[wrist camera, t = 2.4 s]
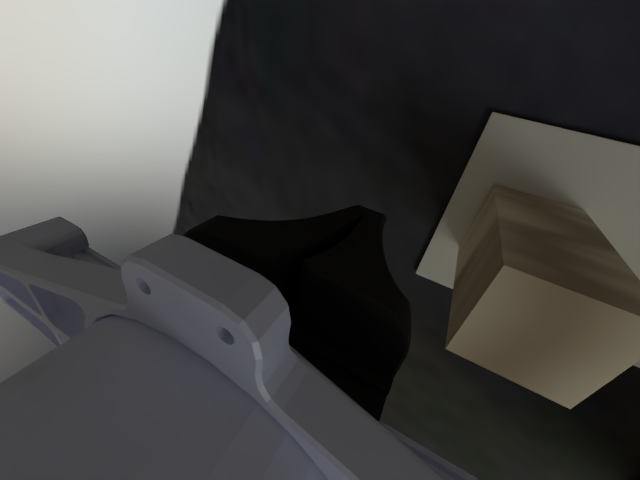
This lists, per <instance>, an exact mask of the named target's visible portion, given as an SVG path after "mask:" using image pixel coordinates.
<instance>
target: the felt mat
mask: <svg viewBox="0 0 640 480" xmlns="http://www.w3.org/2000/svg"><path fill="white" fill-rule="evenodd" d="M494 183H495V184H498V185H502V186H505V187H508V188H512V189H515V190H518V191H522V192H525V193H528V194H532V195H535V196H538V197H541V198H545V199H548V200H551V201H555V202H558V203H561V204H565V205H568V206H571V207H575V208H578V209H581V210H584V211H586V213H587V214H588V215H589V216H590V218H591V219H592V220H593V221H594V223H595V224H596V225H597V227H598V228H599V229H600V230H601V232H602V233H603V234H604V235H605V237H606V238H607V239H608V241H609V242H610V243H611V244H612V246H613V247H614V248H615V249H616V251H617V252H618V253H619V255H620V256H621V257H622V258H623V260H624V261H625V262H626V263H627V265H628V266H629V267H630V269H631V270H632V271H633V272H634V274H635V275H636V276H637V277H638V279H639V280H640V146H637V145H633V144H629V143H625V142H620V141H616V140H612V139H607V138H603V137H599V136H595V135H590V134H586V133H582V132H577V131H573V130H569V129H565V128H560V127H556V126H552V125H548V124H543V123H539V122H535V121H530V120H526V119H522V118H518V117H513V116H509V115H505V114H500V113H496V112H492V114H491V116H490V118H489V120H488V122H487V124H486V126H485V128H484V130H483V133H482V135H481V137H480V139H479V141H478V143H477V145H476V147H475V149H474V151H473V153H472V156H471V158H470V160H469V162H468V164H467V166H466V168H465V170H464V172H463V174H462V176H461V179H460V181H459V183H458V185H457V187H456V189H455V191H454V193H453V195H452V197H451V200H450V202H449V204H448V206H447V208H446V210H445V212H444V214H443V216H442V218H441V220H440V223H439V225H438V227H437V229H436V231H435V233H434V235H433V237H432V239H431V241H430V243H429V246H428V248H427V250H426V252H425V254H424V256H423V258H422V260H421V262H420V264H419V266H418V269H417V271H416V274H418V275H420V276H423V277H425V278H427V279H430V280H432V281H435V282H437V283H439V284H442V285H444V286H446V287H449V288H451V289H453V286H454V279H455V271H456V263H457V256H458V248H459V245H460V243H461V241H462V240H463V238H464V236H465V234H466V232H467V231H468V229H469V227H470V225H471V223H472V221H473V220H474V218H475V216H476V214H477V212H478V211H479V209H480V207H481V205H482V203H483V202H484V200H485V198H486V196H487V194H488V193H489V191H490V189H491V187H492V185H493V184H494ZM634 366H636V367H639V368H640V360H639V361H638V362H636V363H635V364H634Z"/></svg>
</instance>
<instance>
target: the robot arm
mask: <svg viewBox="0 0 640 480" xmlns="http://www.w3.org/2000/svg"><path fill="white" fill-rule="evenodd" d="M385 221H386V216H385V215H384V214H381V213H379V212H376V211H373V210H370V209H368V208H365V207H362V206H360V205H356V206H352V207H349V208H345V209H342V210H339V211H336V212H332V213H328V214H324V215H320V216H316V217H311V218H305V219H297V220H281V221H261V220H247V219H239V218H232V217H225V216H219V215H217V216H215V217H213V218H211V219H209V220H207V221H206V222H204V223H202V224H200V225H198V226H196V227H194V228H192V229H190V230H188V231H187V232H186V234H185V235H184V236H179V235H175V234H170V235H168V236H166V237H164V238H162V239H160V240H158V241H156V242H154V243H152V244H150V245H148V246H146V247H144V248H142V249H140V250H139V251H136V252H134V253H132V254H130V255H129V256H127V257H126V258H125V259H124V260H123V261H122V263H121V266H119V265H117V264H116V263H114V262H112V261H111V260H109V259H107V258H106V257H104V256H102V255H100V254H99V253H97V252H95V251H94V250H92V249H90V248H89V244H88V240H87V238H86V236H85V234H84V232H83V231H82V230H81V229H80V228H79V227H78V226H76V225H74V224H72V223H71V222H69V221H67V220H65V219H64V218H62V217H56V218H54V219H50V220H47V221H45V222H41V223H38V224H35V225H32V226H29V227H26V228H23V229H20V230H17V231H14V232H11V233H8V234H5V235H2V236H0V296H1V297H2V299H3V300H4V302H5V303H6V304H7V305H8V306H10V307H11V308H12V309H13V310H14V311H16V312H17V313H18V314H19V315H20V316H22V317H23V318H24V319H25V320H26V321H27V322H29V323H30V324H31V325H32V326H33V327H34V328H35V329H37V330H38V331H39V332H40V333H41V334H42V335H43V336H44V337H45V338H47V339H48V340H49V341H50V342H51V343H52V344H53V345H54V346H55V347H56V348H55V349H53V350H52V351H50V352H49V353H47V354H45V355H44V356H42V357H41V358H39V359H38V360H36V361H34V362H33V363H31V364H30V365H28V366H26V367H25V368H23V369H22V370H20V371H18V372H17V373H15V374H14V375H12V376H11V377H9V378H8V379H6V380H4V381H3V382H1V383H0V480H479V479H477V478H475V477H474V476H472V475H470V474H468V473H467V472H465V471H463V470H462V469H460V468H458V467H457V466H455V465H453V464H452V463H450V462H448V461H447V460H445V459H443V458H442V457H440V456H438V455H437V454H435V453H433V452H432V451H430V450H428V449H426V448H425V447H423V446H421V445H420V444H418V443H416V442H415V441H413V440H411V439H410V438H408V437H406V436H405V435H403V434H401V433H400V432H398V431H396V430H395V429H393V428H391V427H390V426H388V425H386V424H384V423H383V422H381V421H379V420H380V417H381V413H382V410H383V407H384V403H385V400H386V396H387V395H388V393H389V391H390V389H391V385H392V382H393V378H394V376H395V375H396V373H397V371H398V370H399V368H400V366H401V364H402V363H403V361H404V359H405V358H406V355H407V353H408V350H409V346H410V339H411V309H410V303H409V301H408V300H407V299H406V297H405V296H404V295H403V293H402V292H401V291H400V290H399V288H398V287H397V285H396V284H395V282H394V280H393V278H392V276H391V274H390V271H389V269H388V266H387V263H386V260H385V256H384V250H383V242H382V230H383V227H384V224H385Z"/></svg>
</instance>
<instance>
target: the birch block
mask: <svg viewBox="0 0 640 480" xmlns="http://www.w3.org/2000/svg"><path fill="white" fill-rule="evenodd" d="M445 349H447V350H449V351H451V352H453V353H455V354H457V355H459V356H461V357H463V358H465V359H467V360H470V361H472V362H474V363H476V364H478V365H480V366H482V367H484V368H486V369H488V370H490V371H492V372H494V373H496V374H498V375H500V376H503V377H505V378H507V379H509V380H511V381H513V382H515V383H517V384H519V385H521V386H523V387H525V388H527V389H529V390H531V391H534V392H536V393H538V394H540V395H542V396H544V397H546V398H548V399H550V400H552V401H554V402H556V403H558V404H560V405H562V406H564V407H567V408H569V409H571V408H573V407H574V406H576V405H577V404H579V403H580V402H581V401H583V400H584V399H586V398H587V397H588V396H590V395H591V394H593V393H594V392H595V391H597V390H598V389H600V388H601V387H603V386H604V385H605V384H607V383H608V382H610V381H611V380H612V379H614V378H615V377H617V376H618V375H619V374H621V373H622V372H624V371H625V370H627V369H628V368H629V367H631V366H632V365H634V364H635V363H636V362H638V361H639V360H640V280H639V279H638V277H637V276H636V275H635V274H634V272H633V271H632V270H631V269H630V267H629V266H628V265H627V263H626V262H625V261H624V260H623V258H622V257H621V256H620V255H619V253H618V252H617V251H616V249H615V248H614V247H613V246H612V244H611V243H610V242H609V241H608V239H607V238H606V237H605V235H604V234H603V233H602V232H601V230H600V229H599V228H598V227H597V225H596V224H595V223H594V221H593V220H592V219H591V218H590V216H589V215H588V214H587V213H586V211H584V210H581V209H578V208H575V207H571V206H568V205H565V204H561V203H558V202H555V201H551V200H548V199H545V198H541V197H538V196H535V195H532V194H528V193H525V192H522V191H518V190H515V189H512V188H508V187H505V186H502V185H498V184H495V183H494V184H493V185H492V187H491V189H490V191H489V193H488V194H487V196H486V198H485V200H484V202H483V203H482V205H481V207H480V209H479V211H478V212H477V214H476V216H475V218H474V220H473V221H472V223H471V225H470V227H469V229H468V231H467V232H466V234H465V236H464V238H463V240H462V241H461V243H460V245H459V248H458V256H457V263H456V271H455V279H454V286H453V294H452V302H451V309H450V317H449V324H448V332H447V340H446V347H445Z"/></svg>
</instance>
